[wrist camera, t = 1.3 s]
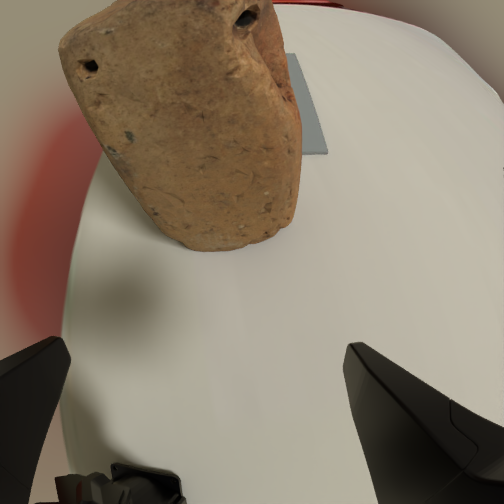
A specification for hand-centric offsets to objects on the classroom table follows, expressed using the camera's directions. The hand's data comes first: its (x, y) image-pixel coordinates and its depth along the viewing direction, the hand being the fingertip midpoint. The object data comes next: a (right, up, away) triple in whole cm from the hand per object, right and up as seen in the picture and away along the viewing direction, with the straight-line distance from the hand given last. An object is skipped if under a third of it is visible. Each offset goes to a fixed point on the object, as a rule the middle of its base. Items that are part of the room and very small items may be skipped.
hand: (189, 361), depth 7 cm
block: (0, +6, +18) cm, 19 cm away
